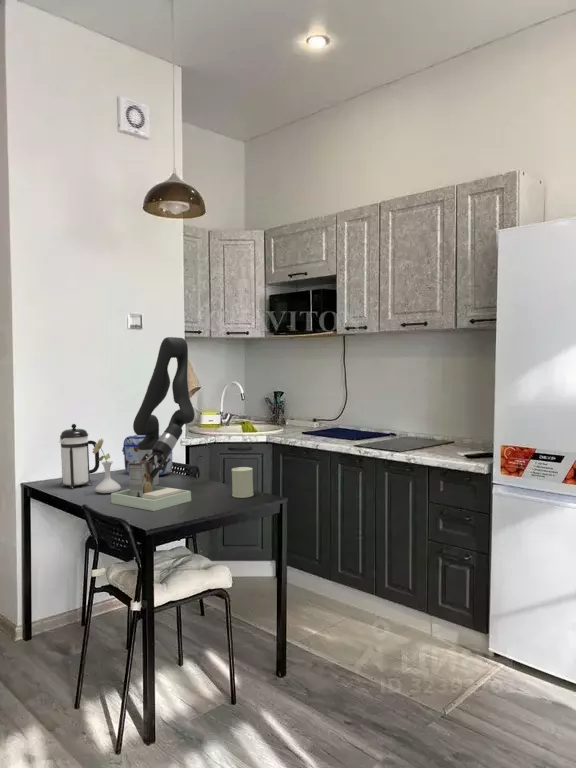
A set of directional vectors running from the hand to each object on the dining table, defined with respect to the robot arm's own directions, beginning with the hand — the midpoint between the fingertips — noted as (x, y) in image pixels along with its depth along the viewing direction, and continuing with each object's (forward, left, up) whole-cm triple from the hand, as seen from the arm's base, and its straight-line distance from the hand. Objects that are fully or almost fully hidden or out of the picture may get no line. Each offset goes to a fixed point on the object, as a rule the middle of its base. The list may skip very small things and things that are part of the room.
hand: (145, 476), depth 262 cm
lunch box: (-48, +42, -11) cm, 64 cm away
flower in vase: (-30, +3, -11) cm, 32 cm away
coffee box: (0, -2, -10) cm, 10 cm away
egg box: (+13, -2, -10) cm, 17 cm away
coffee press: (-56, +6, -11) cm, 57 cm away
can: (+28, +30, -11) cm, 42 cm away
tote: (+6, -2, -11) cm, 13 cm away
